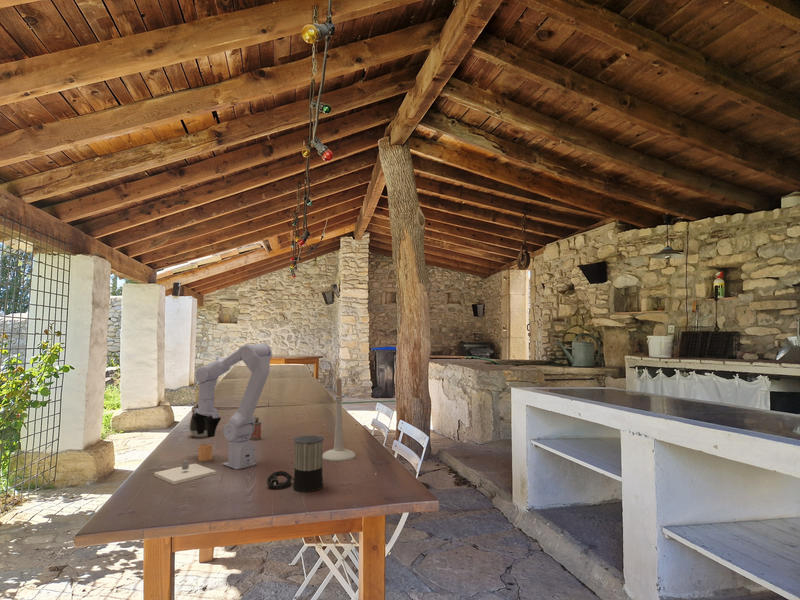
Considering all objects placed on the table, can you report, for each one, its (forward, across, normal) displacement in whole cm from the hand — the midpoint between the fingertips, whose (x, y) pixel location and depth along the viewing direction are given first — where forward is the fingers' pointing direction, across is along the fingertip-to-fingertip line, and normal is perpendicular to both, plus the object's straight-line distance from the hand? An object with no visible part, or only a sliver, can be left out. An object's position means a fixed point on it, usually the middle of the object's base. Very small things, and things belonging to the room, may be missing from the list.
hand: (205, 435), depth 178 cm
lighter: (+9, +14, -29) cm, 33 cm away
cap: (+9, 0, 0) cm, 9 cm away
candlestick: (+9, -36, -34) cm, 50 cm away
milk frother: (+9, -51, -2) cm, 52 cm away
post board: (+9, -13, +14) cm, 21 cm away
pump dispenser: (+9, +37, -18) cm, 42 cm away
